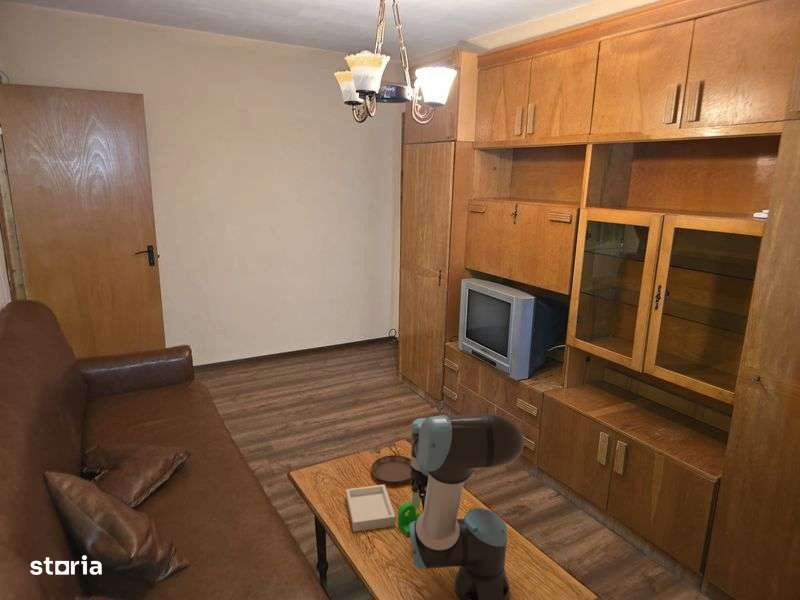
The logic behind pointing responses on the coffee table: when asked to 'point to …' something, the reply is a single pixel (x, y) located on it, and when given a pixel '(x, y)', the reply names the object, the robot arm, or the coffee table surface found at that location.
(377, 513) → the tray
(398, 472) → the plant saucer
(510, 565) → the coffee table surface
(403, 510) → the mechanical part
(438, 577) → the coffee table surface
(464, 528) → the robot arm
